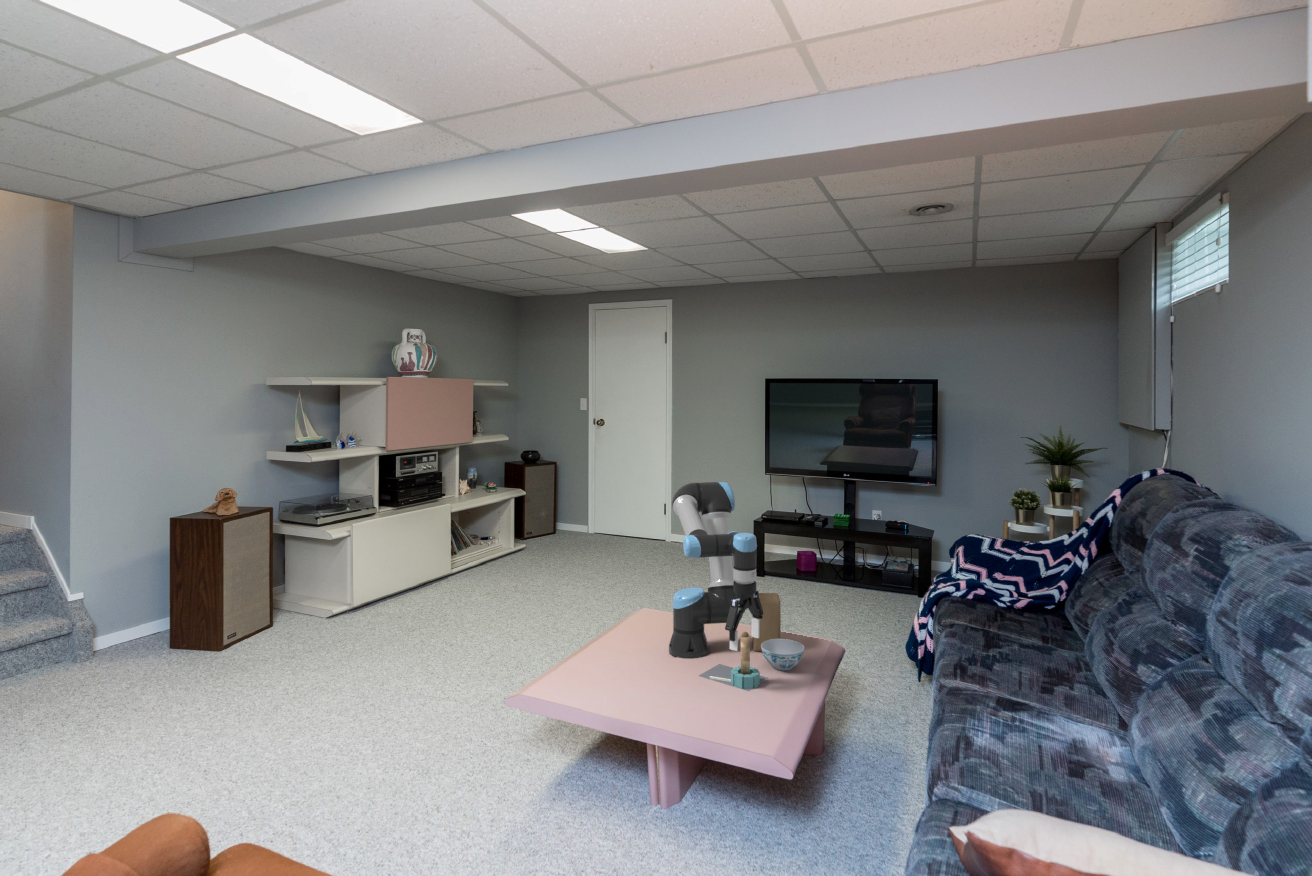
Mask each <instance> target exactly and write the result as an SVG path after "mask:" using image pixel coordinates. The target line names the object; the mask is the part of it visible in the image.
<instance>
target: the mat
mask: <svg viewBox="0 0 1312 876" xmlns="http://www.w3.org/2000/svg"><path fill="white" fill-rule="evenodd" d="M733 668H734V667H732V666H728V665H726V664H721V663H718V664H717V665H715V666H713V667H712V668H710V669H708V670H706V671H704V672H702V673H701V674H699V675H698V677H701V678H704V679H707V680H711V681H714V682H717V683H720V684H724V685H727V686H730V687H734V686H733V685H732V683H731V682H729V681H723V680H717V679H711V678H709V677H710V676H713V677H719V678H725V679H731V670H732V669H733ZM768 679H769V677H766V676H764V675H760V684H762V683H764V682H765V681H766V680H768ZM734 688H736V689H738V688H737V687H734ZM742 690H743V691H745V692H746V691H747V692H749V691H752V689H744V688H743V689H742Z"/></svg>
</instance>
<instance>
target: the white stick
mask: <svg viewBox="0 0 1312 876" xmlns="http://www.w3.org/2000/svg"><path fill="white" fill-rule="evenodd" d="M709 678H711V679H717V680H723V681H729V682H731V679H725V678H719V677H713V676H710V677H709Z"/></svg>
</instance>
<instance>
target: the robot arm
mask: <svg viewBox="0 0 1312 876" xmlns="http://www.w3.org/2000/svg"><path fill="white" fill-rule="evenodd" d="M734 494H735V493H734V491H733V488H732V486H731V485H730V484H729V483H728V482H725V481H724V482H723V481H721V482H720V481H708V482H688V483H687V484H684V485H682V486H681V487H679V488H678V489H677V490H676V492H675V493H674V495H673V497H672V500H671V505H672V506H671V507H672V510H673V512H674V514H675V516H678V518H679V521H680V525H681V527H682V530H683V533H684V535H685V536H684V537H683V544H682V545H683V547H682V549H683V552H684V553H683V554H684V556H685V557H686V558H694V559H698V558H708V560H709V572H710V573H709V574H710V584H709V585H708V586H707V591H704V588H701V587H687V588H681V589H680V590H678V591H676V592H675V593H674V594H673V597H672V609H673V610H672V620H673V621H672V625H673V626H672V627H673V628H672V629H673V630H672V634H671V638H670V641H669V645H668V653H669V655H670V656H672V657H674V658H679V659H685V660H686V659H689V660H690V659H691V660H692V659H699V658H703V657H706V656H707V655H709V653H710V645H709V642H708V639H707V635H706V633H705V625H713V624H725V627H724V630H725V631H728V632H729V638H728V639H729V650H731V651H733V652H734V651H736V652H738V651H739V631H738V630H737V629H738V627H739V623H740V621H741V620H742V618H743V616H744V613H745V611H746V610H747V609H748V610H749V612H750V614H751V616H752V617H751V620H750V621H751V628H750V629H751V632H750V633H751V635H750V638H751V637H752V638H753V637H755V638H759V625H760V624H759V623H760V619H762V618H763V616H762V615H763V609H762V606H761V602H760V599H759V593H760V592H759V590H757V582H756V581H757V574H758V573H757V547H758V544H757V537H756V535H755V534H753V533H750V532H740V531H739V532H738V531H735V530H732V531H730V528H729V518H730V517H731V516H732V512H733V511H734V510H735V507H736V504H735V502H736V501H735V499H736V498H735V495H734ZM700 513H701V515H700ZM703 520H704V521H705V524H704V522H703ZM705 526H706V527H705ZM732 559H733V561H732ZM758 610H759V611H758ZM753 617H754V618H753Z"/></svg>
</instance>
